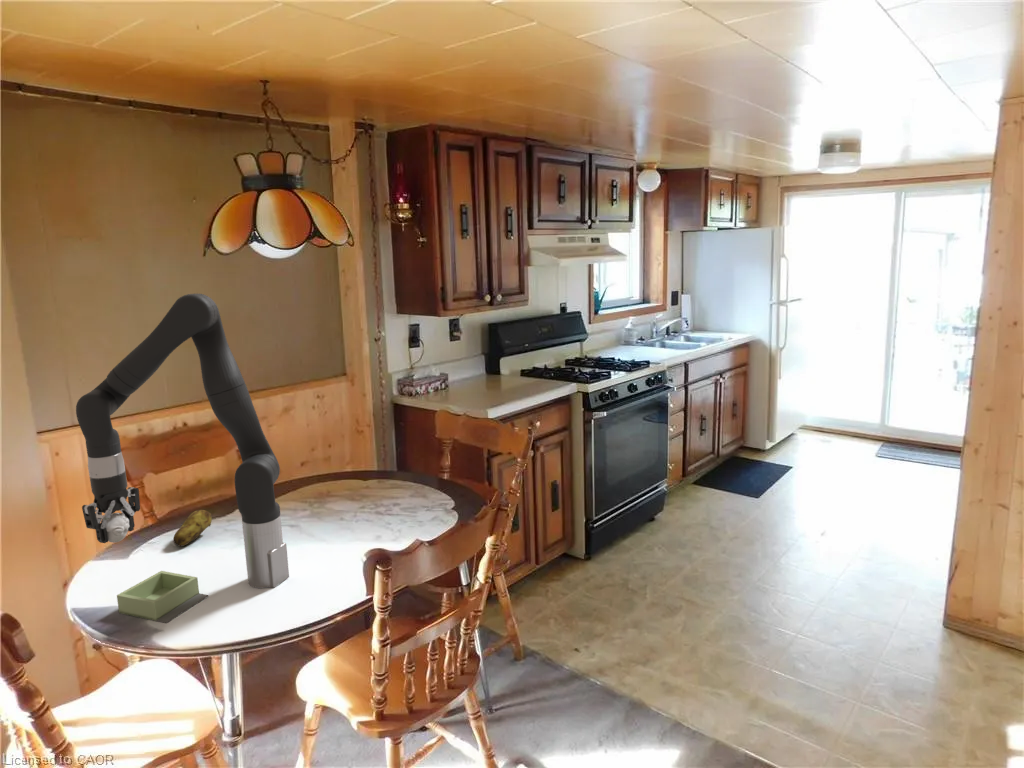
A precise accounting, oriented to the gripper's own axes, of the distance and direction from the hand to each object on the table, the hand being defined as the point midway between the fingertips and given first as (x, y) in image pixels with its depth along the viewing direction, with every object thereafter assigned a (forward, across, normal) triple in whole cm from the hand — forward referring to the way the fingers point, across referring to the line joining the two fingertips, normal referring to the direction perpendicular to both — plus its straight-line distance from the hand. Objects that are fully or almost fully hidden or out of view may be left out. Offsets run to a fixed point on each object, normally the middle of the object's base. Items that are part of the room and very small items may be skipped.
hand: (117, 536), depth 167 cm
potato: (+16, +31, +8) cm, 36 cm away
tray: (+15, -1, -14) cm, 21 cm away
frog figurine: (+2, 0, 0) cm, 2 cm away
